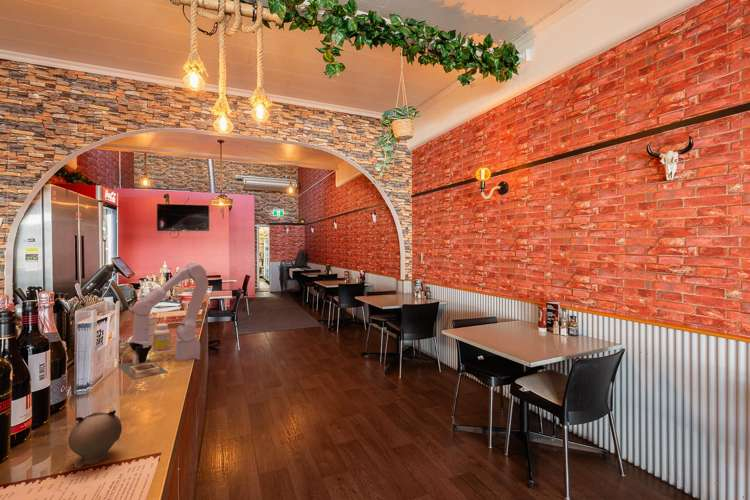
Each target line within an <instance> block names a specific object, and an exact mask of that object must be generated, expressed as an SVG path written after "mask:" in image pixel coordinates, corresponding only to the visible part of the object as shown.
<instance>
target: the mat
mask: <svg viewBox="0 0 750 500" xmlns="http://www.w3.org/2000/svg"><path fill="white" fill-rule="evenodd" d="M152 362H153V363H154V364H155V365H157V366H158V367H160V373H159V374H156V375H151V376H147V377H142V378H138V379H136V378H135V377H133V376H132V375H131V374H130V367H132V366H135V365H133V361H131V362H125V363H120V364H116V366H117V367H118V368H119V369H120V370H122V372H124V373H125V374H126V375H127V376H129V377H130V379H132V380H133V381H135V380H139V379H144V378H149V377H153V376H158V375H162V374H165V375H163V376H166V374H167V373H169V372H168V371H167V370H166V369H164V368H162V366H160V365H158V363H156V362H154V361H153V360H151V358H148V359H147V363H152ZM154 378H157V377H154ZM147 380H148V379H145V381H147ZM137 382H139V381H136V383H137Z"/></svg>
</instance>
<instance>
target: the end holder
mask: <svg viewBox="0 0 750 500" xmlns="http://www.w3.org/2000/svg"><path fill="white" fill-rule="evenodd" d="M153 362H154V361H153ZM153 362H152V363H147V364H142V365H137V366H132V367H130V374H131V375H132V376H133V377H135V378H136V380H139V379H138V378H140V379H143V378H142V377H145V378H148V377H147V376H149V377H152V376H151V375H154V376H157V375H156V374H159V373H160V367H161V366H160V367H158V366H159V365H158V364H157V365H158V366H157V365H155V364H154V363H155V362H154V363H153ZM159 375H160V374H159Z"/></svg>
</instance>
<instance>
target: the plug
mask: <svg viewBox="0 0 750 500" xmlns="http://www.w3.org/2000/svg"><path fill="white" fill-rule="evenodd" d="M147 358H148V357H147ZM147 358H146V361H145V362H144V363H139V360H138V353H137V350H136V349H135V350H133V351H132V362H133V365H135V366H137V365H142V364H147Z"/></svg>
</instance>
